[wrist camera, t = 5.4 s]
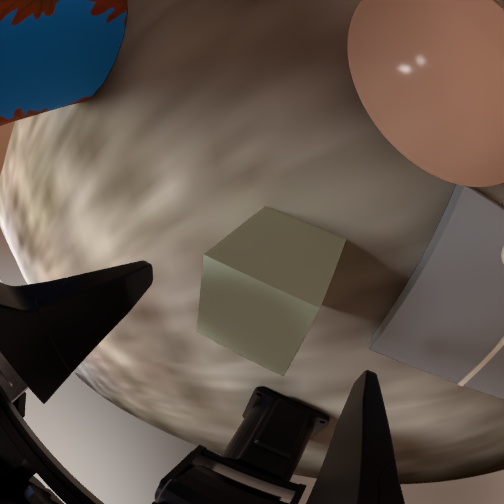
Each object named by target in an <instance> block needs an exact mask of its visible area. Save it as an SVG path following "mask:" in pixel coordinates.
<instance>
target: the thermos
mask: <svg viewBox="0 0 504 504" xmlns="http://www.w3.org/2000/svg"><path fill="white" fill-rule="evenodd" d="M127 12H128V11H127V0H0V126H1V125H4V124H7V123H10V122H13V121H16V120H20V119H23V118H27V117H30V116H34V115H37V114H40V113H44V112H47V111H50V110H54V109H57V108H61V107H64V106H68V105H72V104H76V103H80V102H82V101H84V100H86V99H88V98H90V97H91V96H92V95H93V94H94V93H95V92H96V91H97V90H98V89H99V87H100V86H101V85H102V84H103V83H104V81H105V79H106V77H107V75H108V73H109V71H110V70H111V68H112V66H113V64H114V62H115V60H116V57H117V54H118V51H119V48H120V45H121V42H122V39H123V37H124V30H125V24H126V18H127Z"/></svg>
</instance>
